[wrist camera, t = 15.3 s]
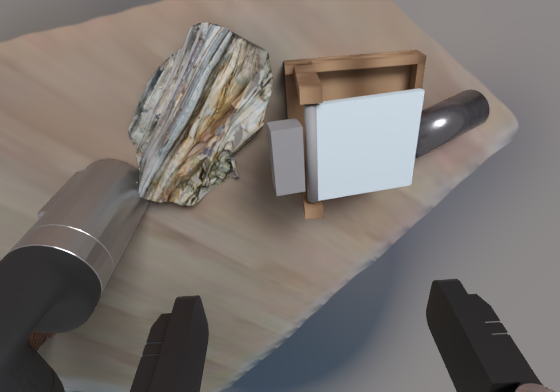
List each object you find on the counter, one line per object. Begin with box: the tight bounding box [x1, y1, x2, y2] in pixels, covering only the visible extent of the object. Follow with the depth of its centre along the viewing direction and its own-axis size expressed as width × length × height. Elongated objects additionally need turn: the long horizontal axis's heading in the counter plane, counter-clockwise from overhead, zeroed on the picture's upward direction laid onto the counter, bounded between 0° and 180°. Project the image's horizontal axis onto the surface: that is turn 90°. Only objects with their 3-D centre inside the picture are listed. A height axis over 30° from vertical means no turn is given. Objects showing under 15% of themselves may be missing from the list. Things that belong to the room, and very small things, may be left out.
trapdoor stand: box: [284, 50, 426, 219], centre depth 40 cm, size 15×14×12 cm
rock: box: [128, 22, 274, 206], centre depth 42 cm, size 23×7×15 cm
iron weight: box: [415, 90, 489, 158], centre depth 41 cm, size 4×4×10 cm
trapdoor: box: [266, 88, 425, 203], centre depth 36 cm, size 15×10×2 cm
